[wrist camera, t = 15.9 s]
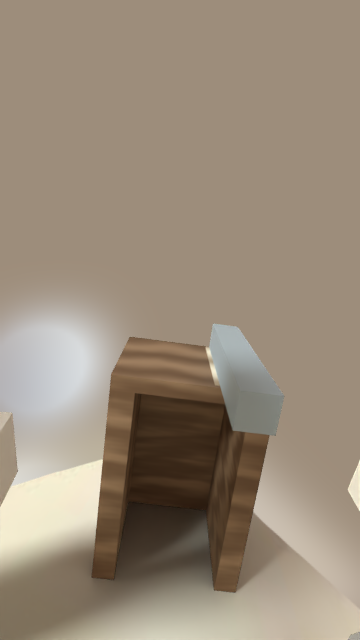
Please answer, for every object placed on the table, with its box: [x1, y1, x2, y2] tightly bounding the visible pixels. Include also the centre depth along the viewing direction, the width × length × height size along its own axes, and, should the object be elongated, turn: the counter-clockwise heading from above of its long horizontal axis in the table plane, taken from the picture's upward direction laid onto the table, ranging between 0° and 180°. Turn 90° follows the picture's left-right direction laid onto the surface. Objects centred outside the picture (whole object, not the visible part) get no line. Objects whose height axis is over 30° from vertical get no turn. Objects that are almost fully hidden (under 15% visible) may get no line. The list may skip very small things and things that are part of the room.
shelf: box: [92, 337, 269, 592], centre depth 52 cm, size 16×20×30 cm
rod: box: [209, 324, 284, 435], centre depth 43 cm, size 25×4×4 cm, turn 0°
